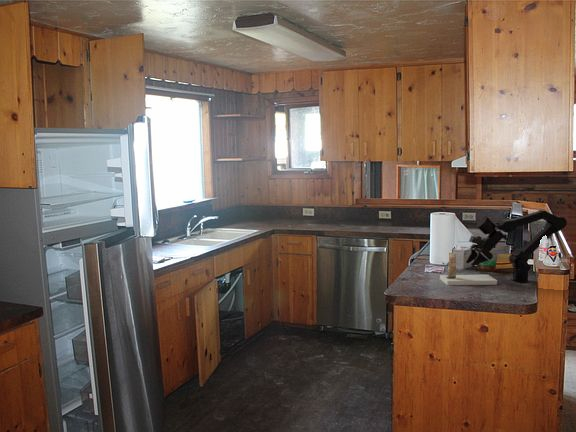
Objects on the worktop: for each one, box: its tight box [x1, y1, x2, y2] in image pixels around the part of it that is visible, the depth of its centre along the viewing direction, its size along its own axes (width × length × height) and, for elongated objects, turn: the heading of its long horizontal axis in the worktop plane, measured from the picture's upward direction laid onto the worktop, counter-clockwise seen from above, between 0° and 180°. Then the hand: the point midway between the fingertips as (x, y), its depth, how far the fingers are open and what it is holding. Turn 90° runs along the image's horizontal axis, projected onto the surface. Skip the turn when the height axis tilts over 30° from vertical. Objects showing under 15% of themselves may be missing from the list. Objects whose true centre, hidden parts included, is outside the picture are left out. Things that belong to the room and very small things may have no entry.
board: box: [439, 274, 498, 286], centre depth 260 cm, size 24×12×2 cm, turn 91°
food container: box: [476, 251, 500, 273], centre depth 282 cm, size 12×6×10 cm, turn 73°
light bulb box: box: [453, 245, 473, 270], centre depth 291 cm, size 11×7×11 cm, turn 136°
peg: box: [447, 253, 457, 279], centre depth 259 cm, size 4×4×14 cm
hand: (469, 264), depth 259 cm, fingers open, 9 cm apart
